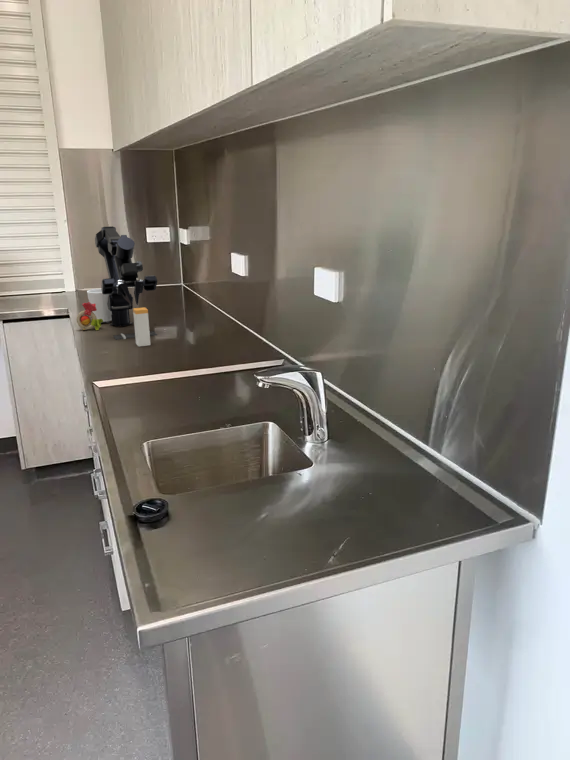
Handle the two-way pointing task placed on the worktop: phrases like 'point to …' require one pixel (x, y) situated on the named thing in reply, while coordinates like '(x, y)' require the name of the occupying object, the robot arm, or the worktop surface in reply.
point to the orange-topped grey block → (141, 326)
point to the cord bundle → (130, 335)
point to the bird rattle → (85, 319)
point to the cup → (100, 304)
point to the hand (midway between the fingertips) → (134, 304)
